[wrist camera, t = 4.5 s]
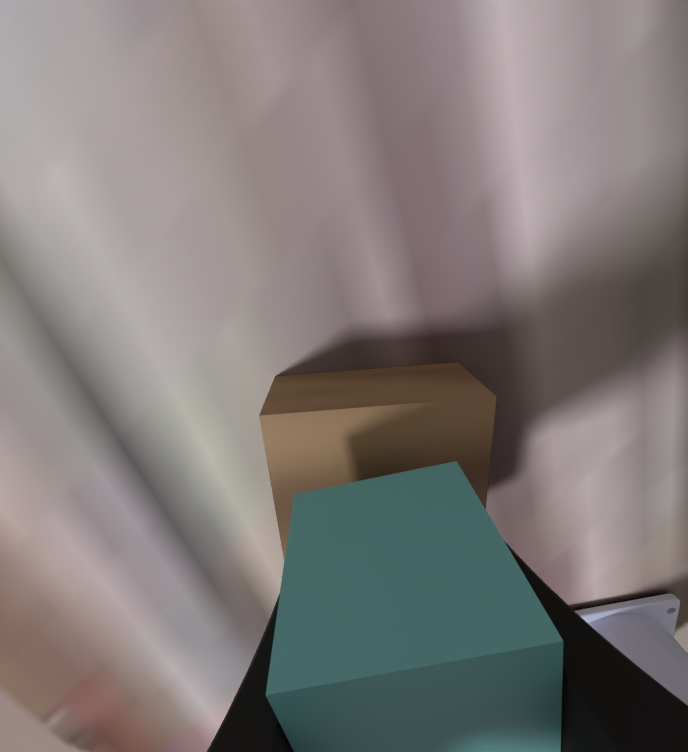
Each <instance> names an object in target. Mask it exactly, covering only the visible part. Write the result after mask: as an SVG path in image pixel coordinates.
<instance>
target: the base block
mask: <svg viewBox="0 0 688 752" xmlns="http://www.w3.org/2000/svg"><path fill="white" fill-rule="evenodd" d="M496 400H497V396H495V395H494V394H493V393H492V392H491V391H490V390H489V389H488V388H486V387H485V386H484V385H483V384H482V383H481V382H480V381H479V380H477V379H476V378H475V377H474V376H473V375H472V374H471V373H470V372H468V371H467V370H466V369H465V368H464V367H463V366H462V365H461V364H460V363H458V362H453V363H440V364H427V365H414V366H400V367H387V368H374V369H361V370H348V371H335V372H322V373H309V374H296V375H282V376H275V378H274V381H273V383H272V385H271V388H270V390H269V393H268V395H267V398H266V400H265V403H264V405H263V408H262V410H261V413H260V415H259V417H260V423H261V429H262V434H263V440H264V446H265V452H266V458H267V463H268V469H269V475H270V481H271V486H272V492H273V498H274V504H275V510H276V515H277V521H278V527H279V533H280V539H281V544H282V550H283V556H284V562H285V555H286V547H287V540H288V533H289V526H290V519H291V512H292V505H293V498H294V494H297V493H302V492H307V491H312V490H317V489H322V488H327V487H331V486H336V485H341V484H346V483H351V482H356V481H361V480H366V479H371V478H376V477H381V476H385V475H390V474H395V473H400V472H405V471H410V470H415V469H420V468H425V467H430V466H435V465H439V464H444V463H449V462H454V461H457V462H458V464H459V466H460V467H461V469H462V471H463V473H464V474H465V476H466V478H467V479H468V481H469V483H470V484H471V486H472V488H473V489H474V491H475V493H476V494H477V496H478V498H479V500H480V501H481V503H482V505H483V506H484V508H485V509H486V499H487V489H488V480H489V470H490V460H491V450H492V440H493V430H494V420H495V410H496Z"/></svg>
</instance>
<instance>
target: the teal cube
mask: <svg viewBox="0 0 688 752" xmlns="http://www.w3.org/2000/svg"><path fill="white" fill-rule="evenodd" d="M562 678H563V640H562V638H561V636H560V635H559V633H558V631H557V629H556V628H555V626H554V624H553V623H552V621H551V619H550V618H549V616H548V614H547V613H546V611H545V609H544V608H543V606H542V604H541V602H540V601H539V599H538V597H537V596H536V594H535V592H534V591H533V589H532V587H531V586H530V584H529V582H528V581H527V579H526V577H525V575H524V574H523V572H522V570H521V569H520V567H519V565H518V564H517V562H516V560H515V559H514V557H513V555H512V554H511V552H510V550H509V548H508V547H507V545H506V543H505V542H504V540H503V538H502V537H501V535H500V533H499V532H498V530H497V528H496V527H495V525H494V523H493V521H492V520H491V518H490V516H489V515H488V513H487V511H486V510H485V508H484V506H483V505H482V503H481V501H480V500H479V498H478V496H477V494H476V493H475V491H474V489H473V488H472V486H471V484H470V483H469V481H468V479H467V478H466V476H465V474H464V473H463V471H462V469H461V467H460V466H459V464H458V462H457V461H454V462H449V463H444V464H439V465H435V466H430V467H425V468H420V469H415V470H410V471H405V472H400V473H395V474H390V475H385V476H381V477H376V478H371V479H366V480H361V481H356V482H351V483H346V484H341V485H336V486H331V487H327V488H322V489H317V490H312V491H307V492H302V493H297V494H294V498H293V505H292V512H291V519H290V526H289V533H288V540H287V547H286V555H285V562H284V569H283V576H282V583H281V590H280V597H279V604H278V611H277V618H276V625H275V632H274V639H273V646H272V653H271V661H270V668H269V675H268V682H267V689H266V697H267V699H268V701H269V703H270V705H271V707H272V709H273V711H274V713H275V715H276V717H277V719H278V721H279V723H280V725H281V727H282V729H283V731H284V733H285V735H286V737H287V739H288V741H289V743H290V745H291V747H292V749H293V751H294V752H561V716H562Z"/></svg>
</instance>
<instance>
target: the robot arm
mask: <svg viewBox="0 0 688 752" xmlns="http://www.w3.org/2000/svg"><path fill="white" fill-rule="evenodd" d="M504 542H505V541H504ZM505 543H506V542H505ZM506 545H507V547H508V548H509V550H510V552H511V554H512V555H513V557H514V559H515V560H516V562H517V564H518V565H519V567H520V569H521V570H522V572H523V574H524V575H525V577H526V579H527V581H528V582H529V584H530V586H531V587H532V589H533V591H534V592H535V594H536V596H537V597H538V599H539V601H540V602H541V604H542V606H543V608H544V609H545V611H546V613H547V614H548V616H549V618H550V619H551V621H552V623H553V624H554V626H555V628H556V629H557V631H558V633H559V635H560V636H561V638H562V640H563V678H562V716H561V752H688V654H687V653H686V652H685V650H684V649H683V648H682V647H681V646H680V645H679V644H678V642H677V641H676V640H675V639H674V638H673V637H674V632H675V627H676V622H677V617H678V612H679V607H680V600H679V599H678V598H677V597H676V596H675V595H674V594H670V593H669V594H662V595H657V596H652V597H646V598H641V599H635V600H630V601H625V602H619V603H614V604H608V605H603V606H597V607H592V608H587V609H581V610H576V611H574V610H573V609H572V608H571V607H570V606H568V605H567V604H566V603H565V602H564V601H563V600H562V599H561V598H560V597H559V596H558V595H557V594H556V593H555V592H554V591H553V590H551V589H550V588H549V587H548V586H547V585H546V584H545V583H544V582H543V581H542V580H541V579H540V578H539V577H538V576H537V575H536V574H535V573H534V572H533V571H532V570H531V569H530V568H529V567H528V566H527V565H526V564H525V563H524V561H523V560H522V559H521V558H520V557H519V556H518V555H517V554H516V553H515V552H514V551H513V550H512V549H511V548H510V547H509V546H508V544H507V543H506ZM279 597H280V594H279ZM279 597H278V599H277V602H276V605H275V607H274V610H273V612H272V615H271V617H270V620H269V622H268V625H267V627H266V630H265V632H264V634H263V637H262V639H261V641H260V644H259V646H258V648H257V651H256V653H255V655H254V658H253V660H252V662H251V664H250V667H249V669H248V671H247V673H246V675H245V677H244V679H243V681H242V684H241V686H240V688H239V690H238V692H237V694H236V696H235V698H234V700H233V702H232V704H231V706H230V709H229V711H228V713H227V715H226V717H225V718H224V720H223V722H222V724H221V726H220V728H219V730H218V732H217V734H216V736H215V738H214V740H213V741H212V743H211V745H210V747H209V749H208V751H207V752H294V751H293V749H292V747H291V745H290V743H289V741H288V739H287V737H286V735H285V733H284V731H283V729H282V727H281V725H280V723H279V721H278V719H277V717H276V715H275V713H274V711H273V709H272V707H271V705H270V703H269V701H268V699H267V697H266V689H267V682H268V675H269V668H270V661H271V653H272V646H273V639H274V632H275V625H276V618H277V611H278V604H279Z"/></svg>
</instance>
